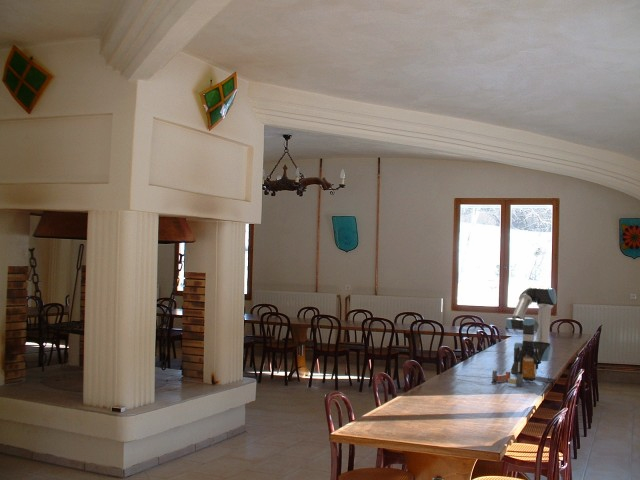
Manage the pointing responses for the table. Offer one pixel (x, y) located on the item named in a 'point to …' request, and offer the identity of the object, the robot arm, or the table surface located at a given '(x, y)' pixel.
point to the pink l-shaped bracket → (503, 377)
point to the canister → (527, 366)
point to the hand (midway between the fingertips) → (527, 372)
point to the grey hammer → (517, 380)
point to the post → (494, 376)
